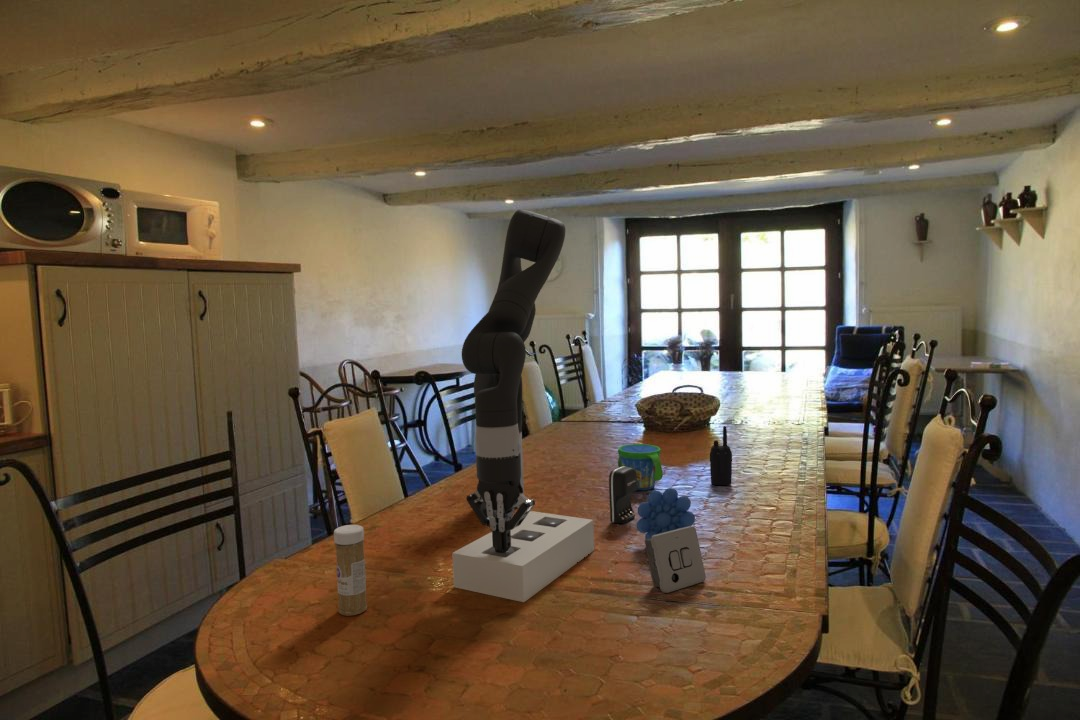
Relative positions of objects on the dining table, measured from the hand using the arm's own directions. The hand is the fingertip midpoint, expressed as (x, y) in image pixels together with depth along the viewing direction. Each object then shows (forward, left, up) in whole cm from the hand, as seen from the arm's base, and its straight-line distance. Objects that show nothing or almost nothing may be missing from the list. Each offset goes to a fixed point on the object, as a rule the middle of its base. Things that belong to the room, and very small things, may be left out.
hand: (502, 551), depth 121 cm
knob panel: (0, +9, -6) cm, 10 cm away
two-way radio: (+16, +77, -6) cm, 79 cm away
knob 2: (0, +9, -5) cm, 10 cm away
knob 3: (0, +17, -5) cm, 18 cm away
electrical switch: (+26, +13, -6) cm, 30 cm away
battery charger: (+5, +41, -6) cm, 42 cm away
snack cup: (-2, +67, -6) cm, 67 cm away
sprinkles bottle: (-16, -19, -6) cm, 26 cm away
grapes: (+19, +29, -6) cm, 35 cm away
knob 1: (0, 0, -5) cm, 5 cm away
